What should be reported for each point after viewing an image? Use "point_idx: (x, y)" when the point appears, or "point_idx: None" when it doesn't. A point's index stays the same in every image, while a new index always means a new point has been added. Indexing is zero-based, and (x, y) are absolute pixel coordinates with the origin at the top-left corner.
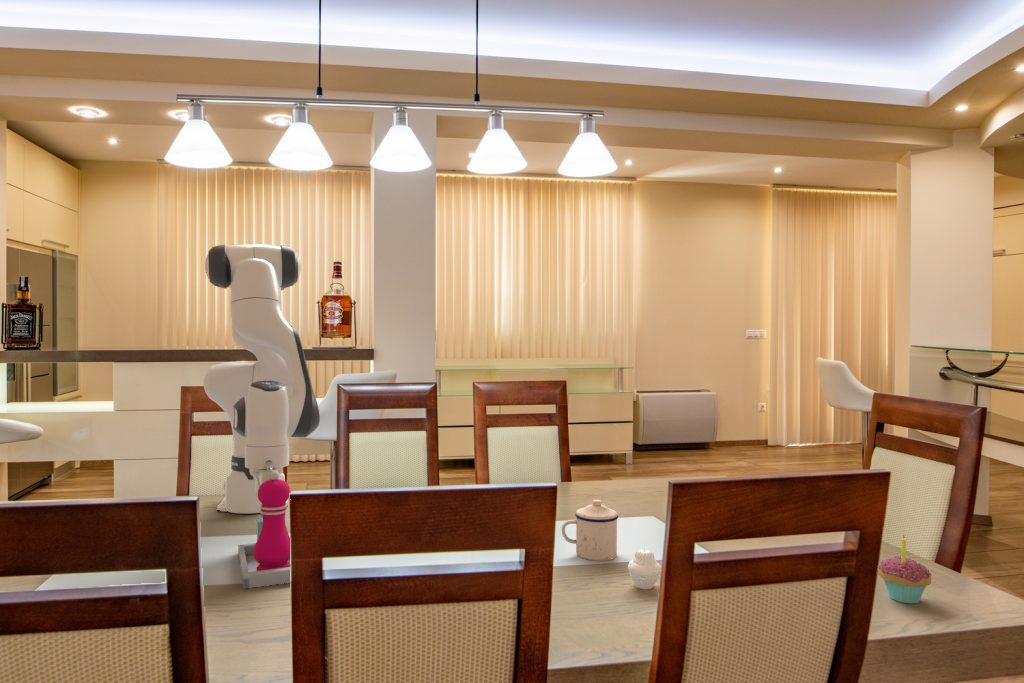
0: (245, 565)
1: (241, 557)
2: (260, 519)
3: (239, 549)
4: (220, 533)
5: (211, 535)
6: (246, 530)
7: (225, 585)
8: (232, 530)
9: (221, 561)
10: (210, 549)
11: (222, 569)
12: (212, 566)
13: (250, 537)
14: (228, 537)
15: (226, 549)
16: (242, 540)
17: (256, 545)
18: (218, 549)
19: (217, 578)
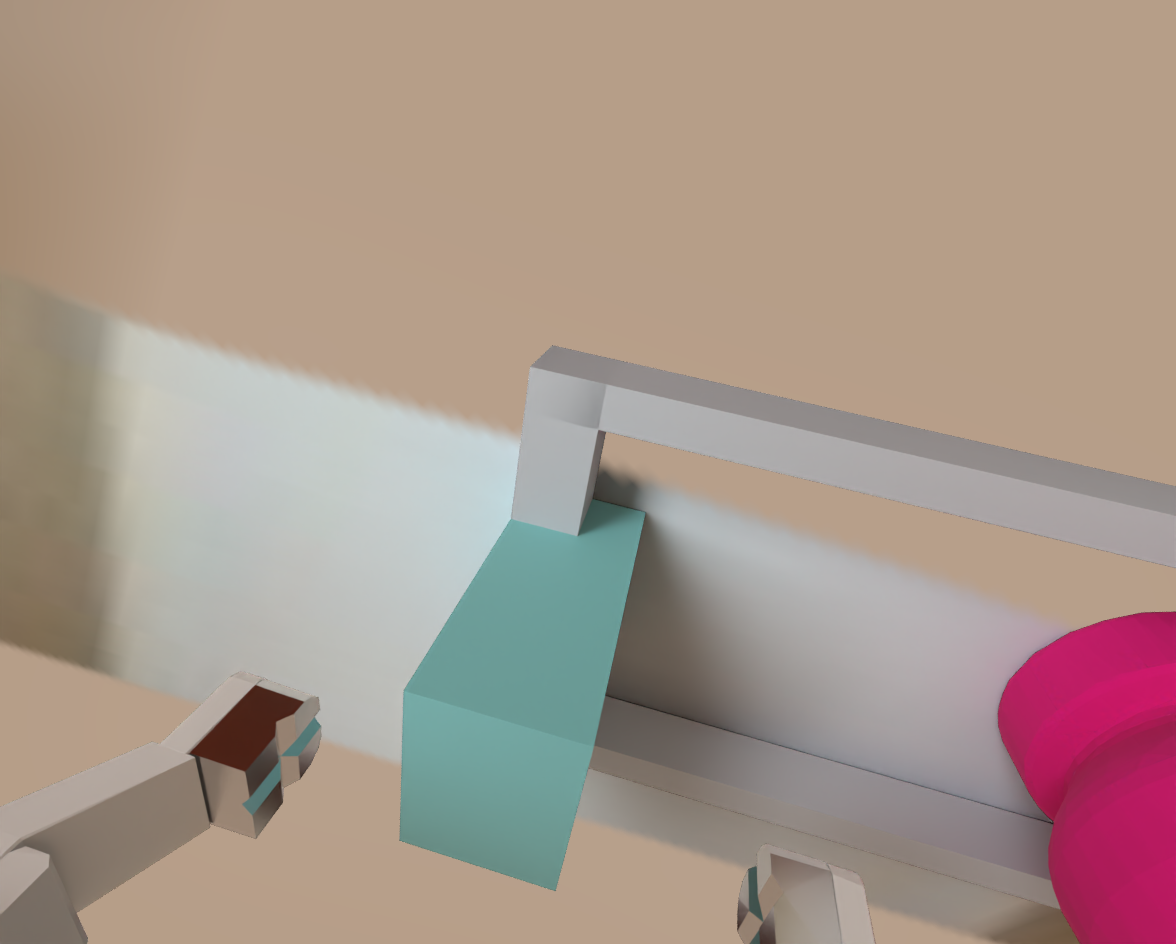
0: (992, 870)
1: (787, 822)
2: (446, 836)
3: (592, 768)
4: (62, 621)
5: (95, 664)
6: (9, 491)
7: (1057, 916)
8: (5, 555)
9: (604, 788)
10: (355, 749)
11: (755, 832)
12: (665, 839)
13: (175, 524)
14: (149, 617)
15: (387, 701)
16: (231, 582)
17: None
18: (370, 726)
19: (895, 894)
